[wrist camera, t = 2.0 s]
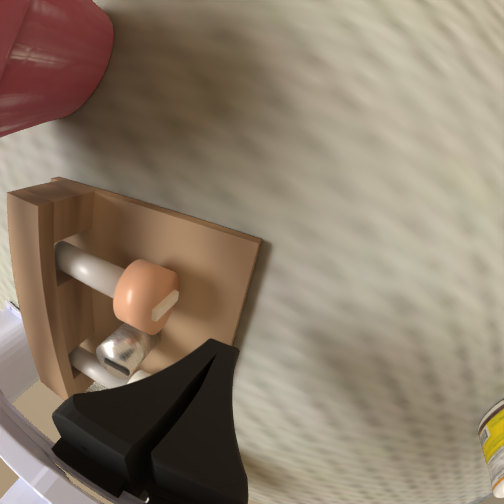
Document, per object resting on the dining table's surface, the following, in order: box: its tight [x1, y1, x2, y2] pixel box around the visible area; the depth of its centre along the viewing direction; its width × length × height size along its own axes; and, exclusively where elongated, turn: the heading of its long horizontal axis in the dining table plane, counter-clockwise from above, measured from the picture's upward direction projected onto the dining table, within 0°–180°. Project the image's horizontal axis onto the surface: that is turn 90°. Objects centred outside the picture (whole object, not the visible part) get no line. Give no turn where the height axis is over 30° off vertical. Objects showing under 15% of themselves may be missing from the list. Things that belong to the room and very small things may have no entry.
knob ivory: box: [68, 346, 151, 389], centre depth 19 cm, size 9×4×4 cm, turn 76°
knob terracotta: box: [54, 241, 179, 335], centre depth 15 cm, size 9×4×4 cm, turn 76°
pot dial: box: [96, 323, 161, 379], centre depth 17 cm, size 3×3×4 cm
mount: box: [7, 177, 262, 400], centre depth 17 cm, size 16×17×6 cm
